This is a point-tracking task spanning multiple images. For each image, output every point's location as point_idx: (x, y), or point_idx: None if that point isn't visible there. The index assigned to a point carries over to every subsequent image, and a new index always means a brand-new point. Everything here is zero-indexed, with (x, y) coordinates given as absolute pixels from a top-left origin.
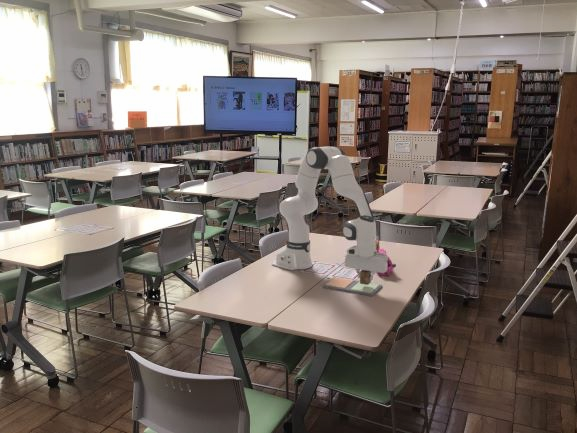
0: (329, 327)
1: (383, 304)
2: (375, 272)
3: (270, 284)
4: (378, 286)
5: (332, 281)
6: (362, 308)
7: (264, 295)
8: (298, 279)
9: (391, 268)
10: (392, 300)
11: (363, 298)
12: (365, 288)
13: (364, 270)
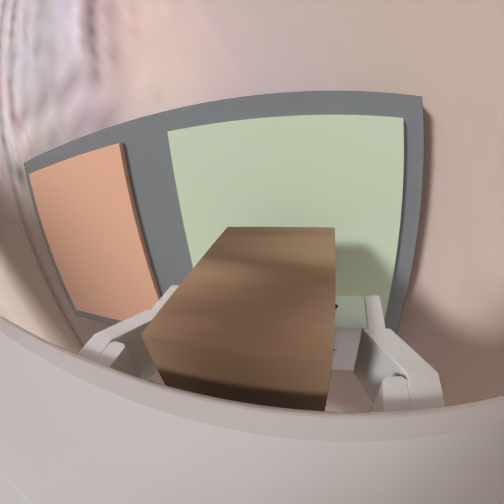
0: None
1: (450, 394)
2: (436, 375)
3: (18, 324)
4: (405, 162)
5: (59, 252)
6: None
7: None
8: (2, 257)
9: None
10: (501, 339)
11: (340, 382)
12: None
13: (209, 391)
